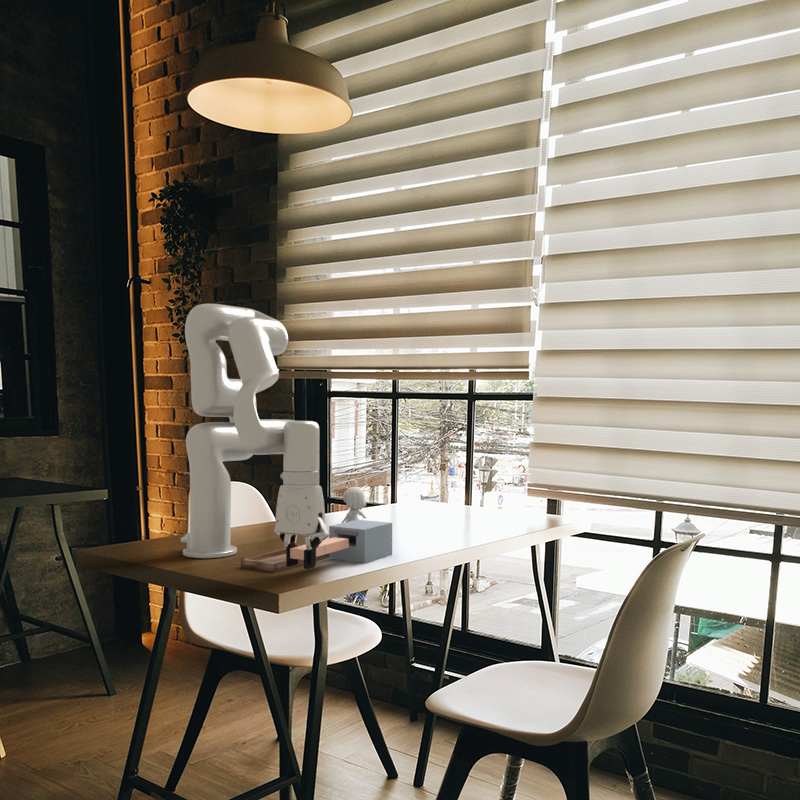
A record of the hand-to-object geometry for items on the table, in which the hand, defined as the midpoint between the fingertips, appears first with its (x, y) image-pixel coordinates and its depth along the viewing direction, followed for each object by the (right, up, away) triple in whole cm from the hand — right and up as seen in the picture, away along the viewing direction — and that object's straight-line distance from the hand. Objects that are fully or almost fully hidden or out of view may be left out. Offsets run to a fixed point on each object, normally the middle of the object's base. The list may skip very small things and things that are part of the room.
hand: (300, 565), depth 152 cm
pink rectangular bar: (+3, +2, +6) cm, 7 cm away
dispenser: (+12, -2, +19) cm, 23 cm away
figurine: (+9, -3, +35) cm, 36 cm away
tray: (-4, -2, +14) cm, 15 cm away
